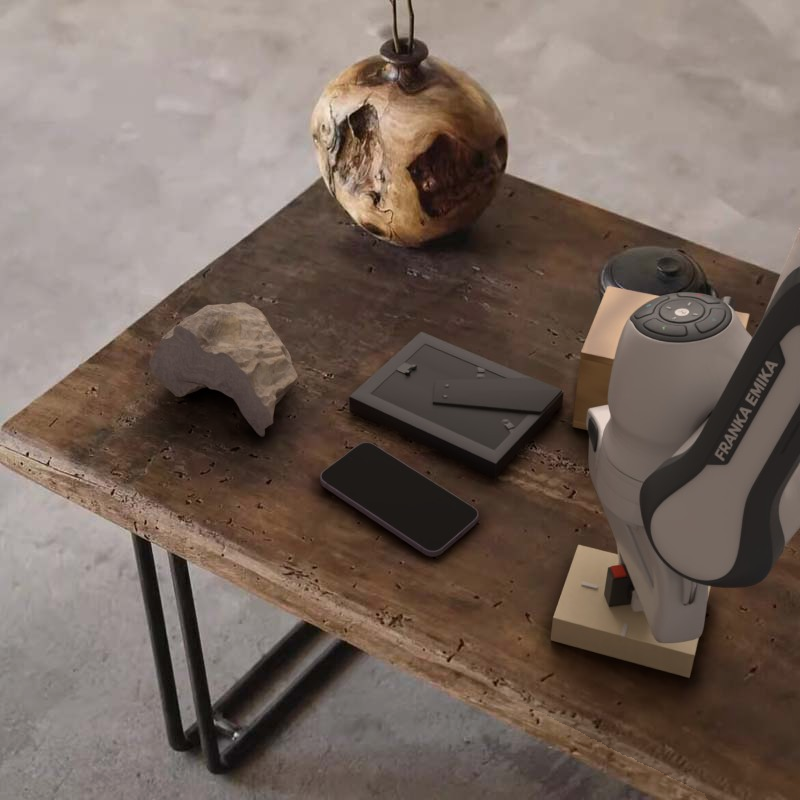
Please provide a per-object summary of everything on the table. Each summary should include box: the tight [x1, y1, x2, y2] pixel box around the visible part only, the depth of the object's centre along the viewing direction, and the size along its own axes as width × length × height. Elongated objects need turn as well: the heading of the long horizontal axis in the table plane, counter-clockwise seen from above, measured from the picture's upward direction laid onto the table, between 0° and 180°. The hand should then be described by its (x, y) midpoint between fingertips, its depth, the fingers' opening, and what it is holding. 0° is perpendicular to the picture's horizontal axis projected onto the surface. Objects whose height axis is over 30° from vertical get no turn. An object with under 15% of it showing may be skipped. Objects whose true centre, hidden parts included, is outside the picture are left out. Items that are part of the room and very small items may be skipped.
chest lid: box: [579, 285, 751, 365], centre depth 130 cm, size 15×12×5 cm
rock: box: [148, 302, 299, 437], centre depth 137 cm, size 16×13×10 cm
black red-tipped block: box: [604, 565, 633, 607], centre depth 112 cm, size 5×2×4 cm, turn 100°
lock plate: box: [550, 544, 712, 679], centre depth 114 cm, size 12×9×3 cm
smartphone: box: [319, 441, 479, 558], centre depth 126 cm, size 7×1×15 cm
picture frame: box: [348, 331, 565, 479], centre depth 136 cm, size 13×2×18 cm
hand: (634, 591), depth 113 cm, fingers closed, pressing on black red-tipped block
